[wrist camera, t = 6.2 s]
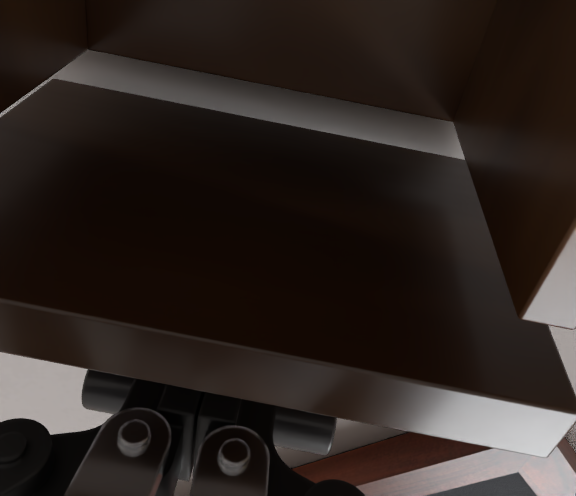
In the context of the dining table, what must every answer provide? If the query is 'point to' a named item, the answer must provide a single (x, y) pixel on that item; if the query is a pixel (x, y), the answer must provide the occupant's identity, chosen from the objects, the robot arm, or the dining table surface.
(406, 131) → the dining table surface
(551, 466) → the picture frame
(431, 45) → the drawer
